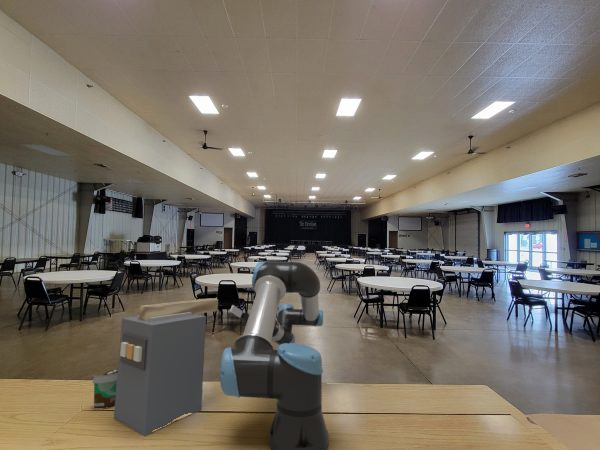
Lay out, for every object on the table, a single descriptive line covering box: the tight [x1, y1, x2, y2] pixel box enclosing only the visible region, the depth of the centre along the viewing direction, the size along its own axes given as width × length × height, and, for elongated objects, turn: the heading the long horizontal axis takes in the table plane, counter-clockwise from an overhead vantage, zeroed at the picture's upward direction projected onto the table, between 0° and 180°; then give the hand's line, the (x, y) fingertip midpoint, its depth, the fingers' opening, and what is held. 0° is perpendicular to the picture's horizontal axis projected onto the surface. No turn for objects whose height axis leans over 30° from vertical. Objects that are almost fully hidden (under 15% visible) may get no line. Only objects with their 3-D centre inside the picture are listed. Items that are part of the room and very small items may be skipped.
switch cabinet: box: [113, 312, 207, 437], centre depth 94 cm, size 16×19×29 cm
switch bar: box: [139, 297, 219, 321], centre depth 102 cm, size 4×26×4 cm, turn 146°
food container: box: [92, 368, 118, 409], centre depth 100 cm, size 12×6×10 cm, turn 168°
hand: (243, 309), depth 125 cm, fingers open, 13 cm apart
